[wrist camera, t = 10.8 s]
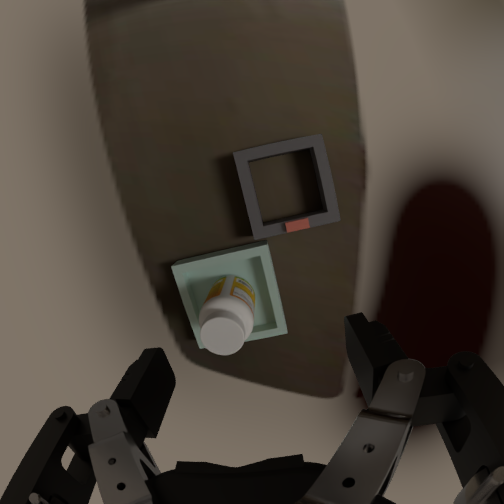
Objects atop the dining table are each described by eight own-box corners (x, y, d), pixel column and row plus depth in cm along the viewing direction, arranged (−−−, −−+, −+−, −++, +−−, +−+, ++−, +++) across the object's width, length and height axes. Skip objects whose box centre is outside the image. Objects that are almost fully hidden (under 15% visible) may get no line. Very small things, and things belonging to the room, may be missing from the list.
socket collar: (235, 154, 30) (232, 152, 27) (317, 137, 29) (322, 133, 26) (255, 235, 32) (254, 241, 29) (334, 217, 32) (341, 221, 29)
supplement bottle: (211, 315, 34) (194, 360, 25) (208, 273, 33) (188, 309, 23) (255, 315, 34) (252, 362, 25) (255, 273, 33) (252, 310, 23)
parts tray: (177, 260, 33) (171, 266, 31) (266, 240, 32) (267, 244, 30) (203, 338, 36) (199, 348, 34) (286, 323, 35) (287, 333, 33)
